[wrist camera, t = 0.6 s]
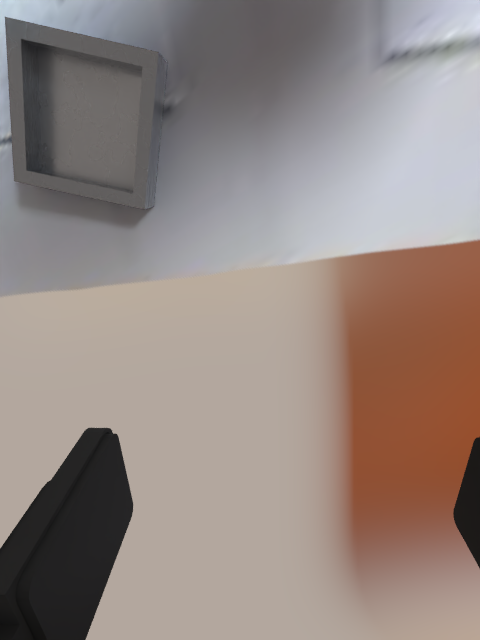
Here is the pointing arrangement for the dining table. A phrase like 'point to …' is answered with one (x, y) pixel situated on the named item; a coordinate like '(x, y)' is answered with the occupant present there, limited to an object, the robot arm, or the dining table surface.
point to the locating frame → (84, 113)
